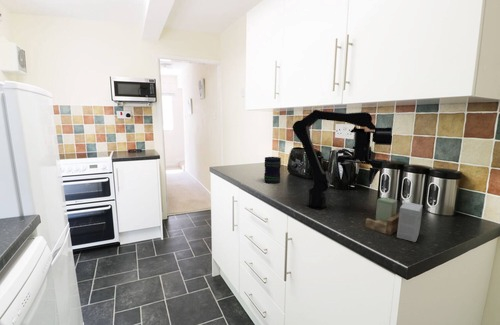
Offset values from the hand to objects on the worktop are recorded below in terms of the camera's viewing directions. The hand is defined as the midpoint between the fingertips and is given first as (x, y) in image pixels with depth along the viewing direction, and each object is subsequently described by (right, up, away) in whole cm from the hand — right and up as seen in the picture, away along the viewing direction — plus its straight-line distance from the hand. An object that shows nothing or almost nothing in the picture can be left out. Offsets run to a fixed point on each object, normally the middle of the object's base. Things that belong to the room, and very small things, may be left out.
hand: (359, 182), depth 106 cm
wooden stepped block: (+4, -15, -11) cm, 19 cm away
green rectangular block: (+4, -15, -12) cm, 20 cm away
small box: (+8, -17, -19) cm, 27 cm away
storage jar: (-31, -4, +53) cm, 61 cm away
